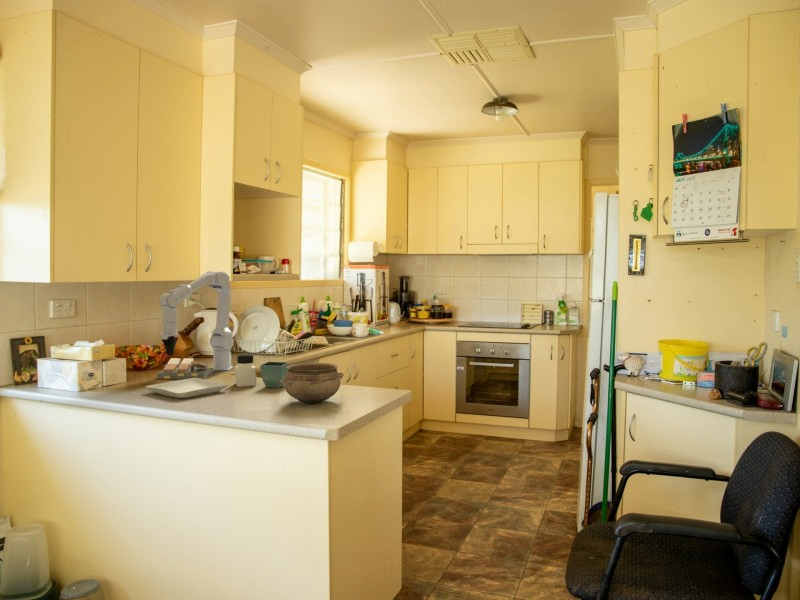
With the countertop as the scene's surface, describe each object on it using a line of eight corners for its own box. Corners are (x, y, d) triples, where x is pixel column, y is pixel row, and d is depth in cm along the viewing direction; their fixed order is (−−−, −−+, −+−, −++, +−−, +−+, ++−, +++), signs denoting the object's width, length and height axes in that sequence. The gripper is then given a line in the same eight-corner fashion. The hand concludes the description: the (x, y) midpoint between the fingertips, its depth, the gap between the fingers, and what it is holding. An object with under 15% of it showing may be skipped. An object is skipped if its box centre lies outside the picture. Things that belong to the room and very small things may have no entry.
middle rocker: (184, 360, 267) (183, 358, 267) (193, 360, 268) (193, 358, 267) (177, 371, 258) (177, 369, 258) (187, 371, 258) (187, 369, 258)
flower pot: (282, 389, 235) (281, 365, 235) (259, 388, 236) (259, 364, 236) (289, 385, 244) (289, 362, 243) (268, 384, 245) (268, 361, 245)
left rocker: (171, 360, 267) (170, 358, 267) (180, 360, 267) (180, 358, 267) (163, 371, 258) (163, 369, 257) (173, 371, 258) (173, 369, 258)
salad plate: (178, 402, 213) (178, 392, 213) (144, 394, 226) (144, 385, 226) (229, 392, 230) (229, 383, 230) (195, 386, 243) (195, 377, 242)
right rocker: (197, 368, 268) (197, 365, 268) (206, 367, 268) (207, 365, 268) (191, 364, 258) (191, 361, 259) (200, 364, 259) (201, 361, 259)
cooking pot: (327, 393, 227) (327, 360, 227) (358, 402, 213) (358, 366, 212) (265, 402, 211) (265, 366, 210) (295, 412, 197) (295, 374, 196)
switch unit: (168, 373, 270) (168, 362, 269) (212, 373, 271) (212, 362, 270) (157, 378, 255) (157, 367, 255) (204, 378, 256) (204, 367, 256)
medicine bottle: (256, 385, 241) (256, 355, 241) (237, 387, 239) (237, 355, 238) (253, 382, 248) (253, 352, 248) (235, 383, 245) (234, 353, 245)
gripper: (165, 320, 265) (166, 352, 266) (153, 323, 251) (154, 357, 251) (182, 320, 266) (182, 352, 266) (171, 323, 251) (172, 357, 252)
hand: (170, 355), depth 259 cm, fingers closed
